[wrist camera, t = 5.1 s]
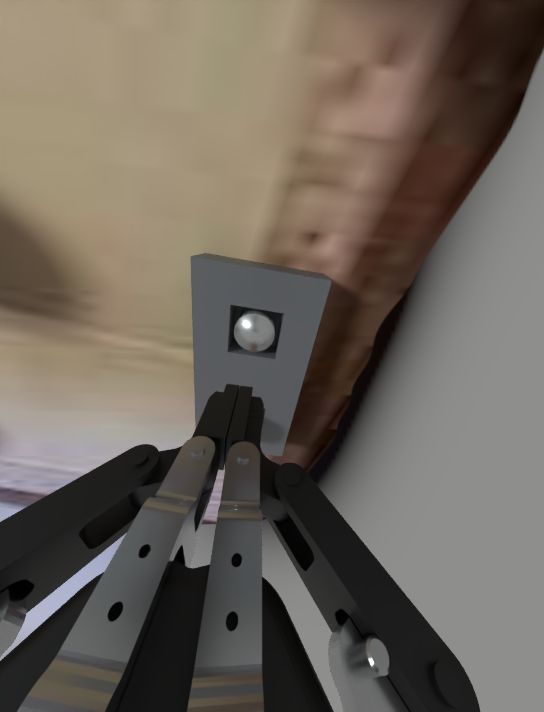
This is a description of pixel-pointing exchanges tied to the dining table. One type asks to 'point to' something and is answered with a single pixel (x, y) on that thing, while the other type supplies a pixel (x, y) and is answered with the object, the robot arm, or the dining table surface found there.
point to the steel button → (255, 329)
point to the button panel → (254, 369)
